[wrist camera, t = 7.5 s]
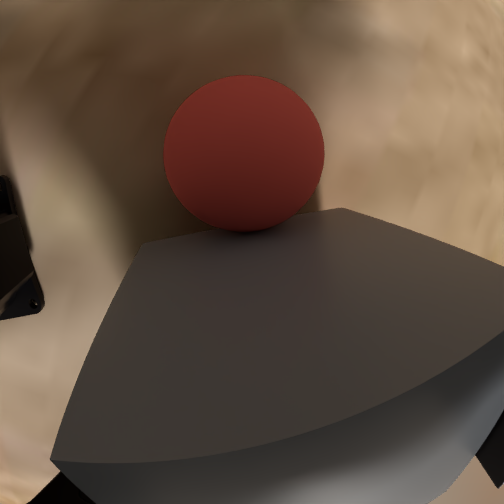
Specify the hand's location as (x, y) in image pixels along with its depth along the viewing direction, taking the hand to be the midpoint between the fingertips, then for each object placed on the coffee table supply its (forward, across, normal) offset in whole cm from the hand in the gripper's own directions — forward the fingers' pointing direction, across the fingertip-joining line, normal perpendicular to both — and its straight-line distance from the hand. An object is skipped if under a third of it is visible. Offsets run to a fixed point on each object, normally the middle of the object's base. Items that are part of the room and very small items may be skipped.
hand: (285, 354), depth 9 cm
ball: (+2, 0, -6) cm, 6 cm away
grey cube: (+3, 0, 0) cm, 3 cm away
